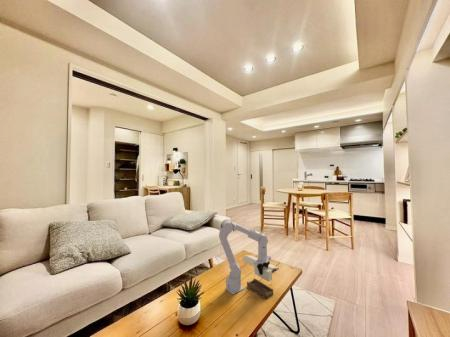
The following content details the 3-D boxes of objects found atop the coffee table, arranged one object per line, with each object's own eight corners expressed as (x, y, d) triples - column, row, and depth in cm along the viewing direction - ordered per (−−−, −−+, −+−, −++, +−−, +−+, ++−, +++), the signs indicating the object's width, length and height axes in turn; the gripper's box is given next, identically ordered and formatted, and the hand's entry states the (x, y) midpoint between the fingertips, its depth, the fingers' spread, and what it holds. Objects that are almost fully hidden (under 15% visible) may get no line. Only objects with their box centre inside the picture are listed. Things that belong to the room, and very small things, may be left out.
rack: (265, 298, 112) (265, 294, 112) (247, 286, 125) (246, 282, 125) (273, 294, 116) (273, 289, 116) (254, 282, 129) (254, 278, 129)
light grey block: (268, 281, 119) (268, 272, 119) (254, 273, 128) (254, 264, 128) (272, 279, 121) (271, 270, 121) (258, 272, 130) (257, 263, 130)
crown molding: (279, 269, 146) (278, 264, 146) (269, 274, 139) (269, 270, 139) (251, 256, 169) (251, 252, 169) (241, 261, 161) (241, 256, 161)
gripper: (259, 257, 117) (260, 280, 117) (274, 251, 126) (274, 272, 126) (251, 254, 123) (251, 275, 123) (266, 248, 132) (266, 268, 131)
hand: (262, 273), depth 125 cm, fingers closed on light grey block, 3 cm apart
